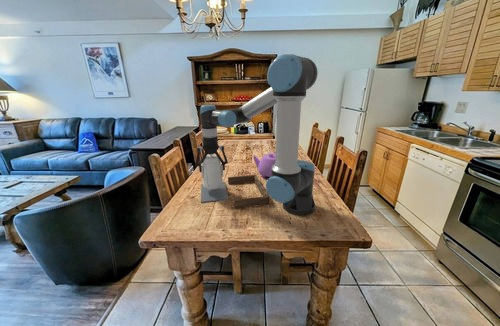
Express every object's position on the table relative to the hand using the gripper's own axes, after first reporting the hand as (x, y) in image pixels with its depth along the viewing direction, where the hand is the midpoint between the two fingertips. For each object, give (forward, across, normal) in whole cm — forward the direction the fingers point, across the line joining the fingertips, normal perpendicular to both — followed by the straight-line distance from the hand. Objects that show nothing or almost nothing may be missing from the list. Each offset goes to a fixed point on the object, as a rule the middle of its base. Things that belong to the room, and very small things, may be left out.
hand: (212, 176), depth 118 cm
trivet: (+9, 0, 0) cm, 9 cm away
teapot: (+9, -37, -19) cm, 43 cm away
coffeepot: (+6, 0, 0) cm, 6 cm away
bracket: (+9, -17, +5) cm, 20 cm away
